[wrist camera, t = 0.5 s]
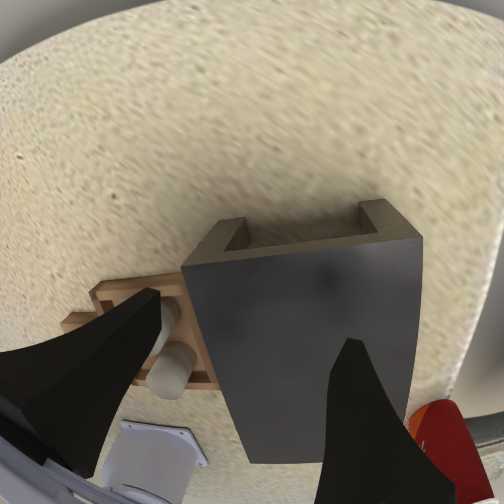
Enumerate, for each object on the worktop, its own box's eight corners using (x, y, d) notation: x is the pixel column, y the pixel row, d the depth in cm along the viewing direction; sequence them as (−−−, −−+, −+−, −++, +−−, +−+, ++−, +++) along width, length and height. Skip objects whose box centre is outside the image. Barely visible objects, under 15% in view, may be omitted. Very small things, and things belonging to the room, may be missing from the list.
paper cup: (385, 420, 26) (400, 545, 14) (452, 380, 24) (494, 505, 11) (416, 445, 28) (432, 549, 15) (474, 411, 25) (507, 515, 12)
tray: (99, 368, 30) (78, 396, 26) (59, 285, 26) (30, 308, 22) (227, 374, 27) (215, 411, 22) (196, 271, 23) (174, 302, 19)
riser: (262, 399, 27) (250, 463, 21) (218, 221, 21) (180, 266, 15) (383, 388, 25) (395, 453, 18) (385, 198, 19) (423, 236, 12)
